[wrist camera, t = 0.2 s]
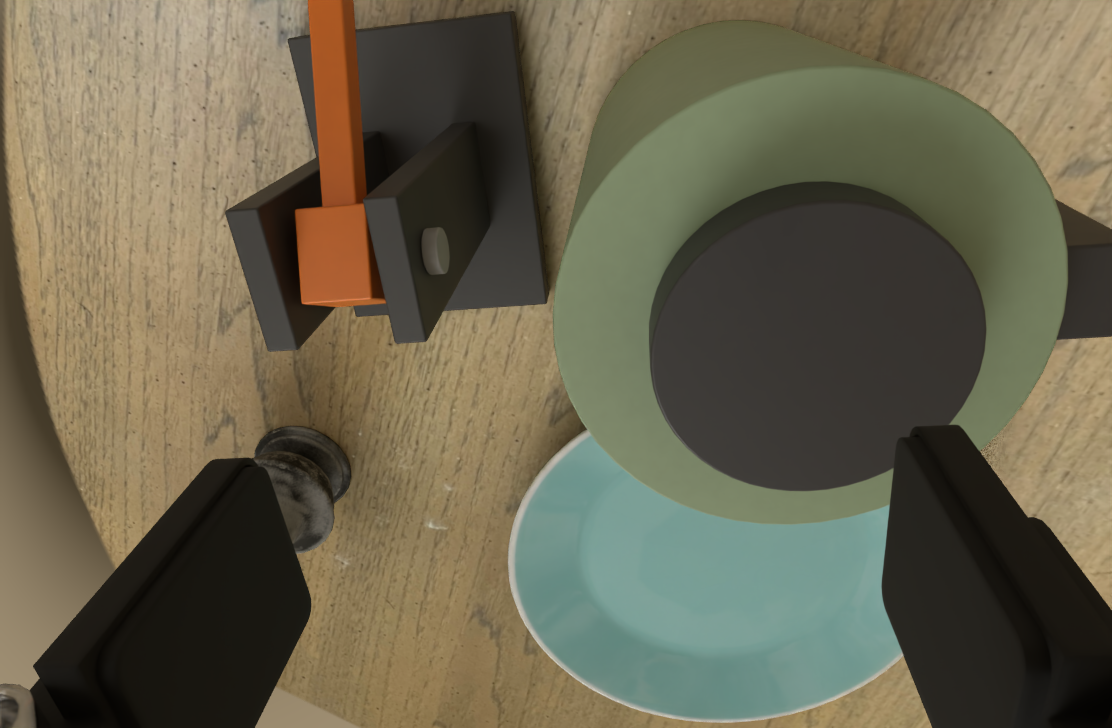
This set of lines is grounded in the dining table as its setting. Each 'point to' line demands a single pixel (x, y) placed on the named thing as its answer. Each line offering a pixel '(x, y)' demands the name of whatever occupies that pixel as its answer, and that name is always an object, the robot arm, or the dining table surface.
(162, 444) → the dining table surface
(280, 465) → the chess piece
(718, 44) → the green canister
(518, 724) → the dining table surface
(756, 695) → the plate
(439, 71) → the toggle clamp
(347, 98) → the orange pivot lever
